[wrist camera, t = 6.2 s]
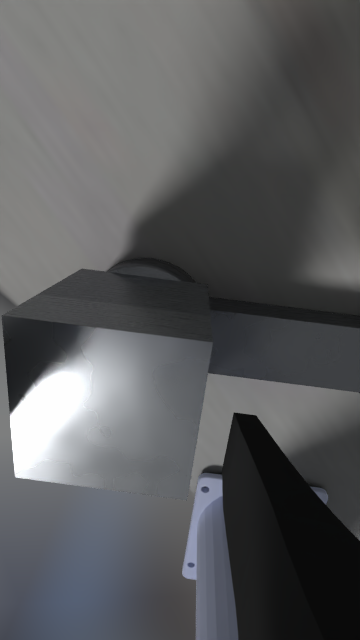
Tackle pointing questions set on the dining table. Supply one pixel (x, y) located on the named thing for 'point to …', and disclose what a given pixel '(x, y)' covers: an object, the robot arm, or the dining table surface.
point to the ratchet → (272, 337)
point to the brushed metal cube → (109, 382)
